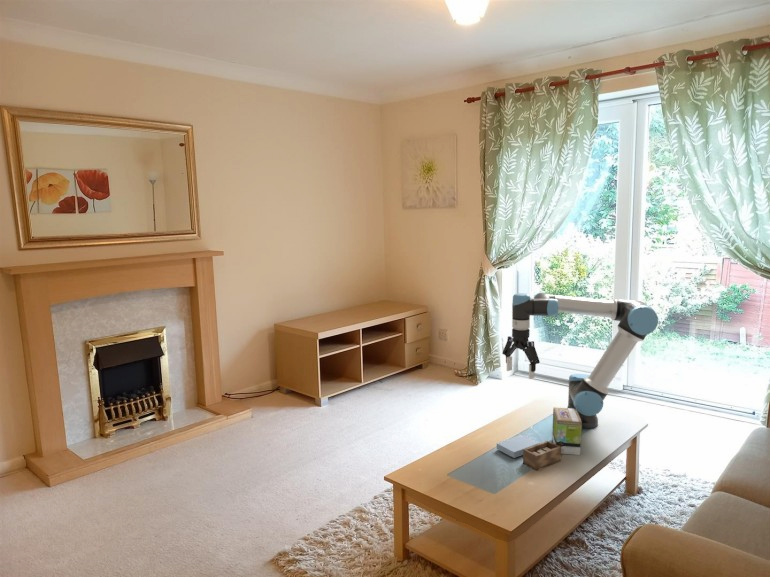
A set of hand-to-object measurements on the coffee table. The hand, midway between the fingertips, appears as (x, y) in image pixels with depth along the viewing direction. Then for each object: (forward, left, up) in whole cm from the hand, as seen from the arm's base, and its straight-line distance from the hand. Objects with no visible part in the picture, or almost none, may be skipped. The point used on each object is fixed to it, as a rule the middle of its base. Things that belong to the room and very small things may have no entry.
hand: (520, 374), depth 238 cm
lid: (+15, +14, -26) cm, 33 cm away
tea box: (-4, +23, -27) cm, 36 cm away
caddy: (+15, +27, -27) cm, 41 cm away
